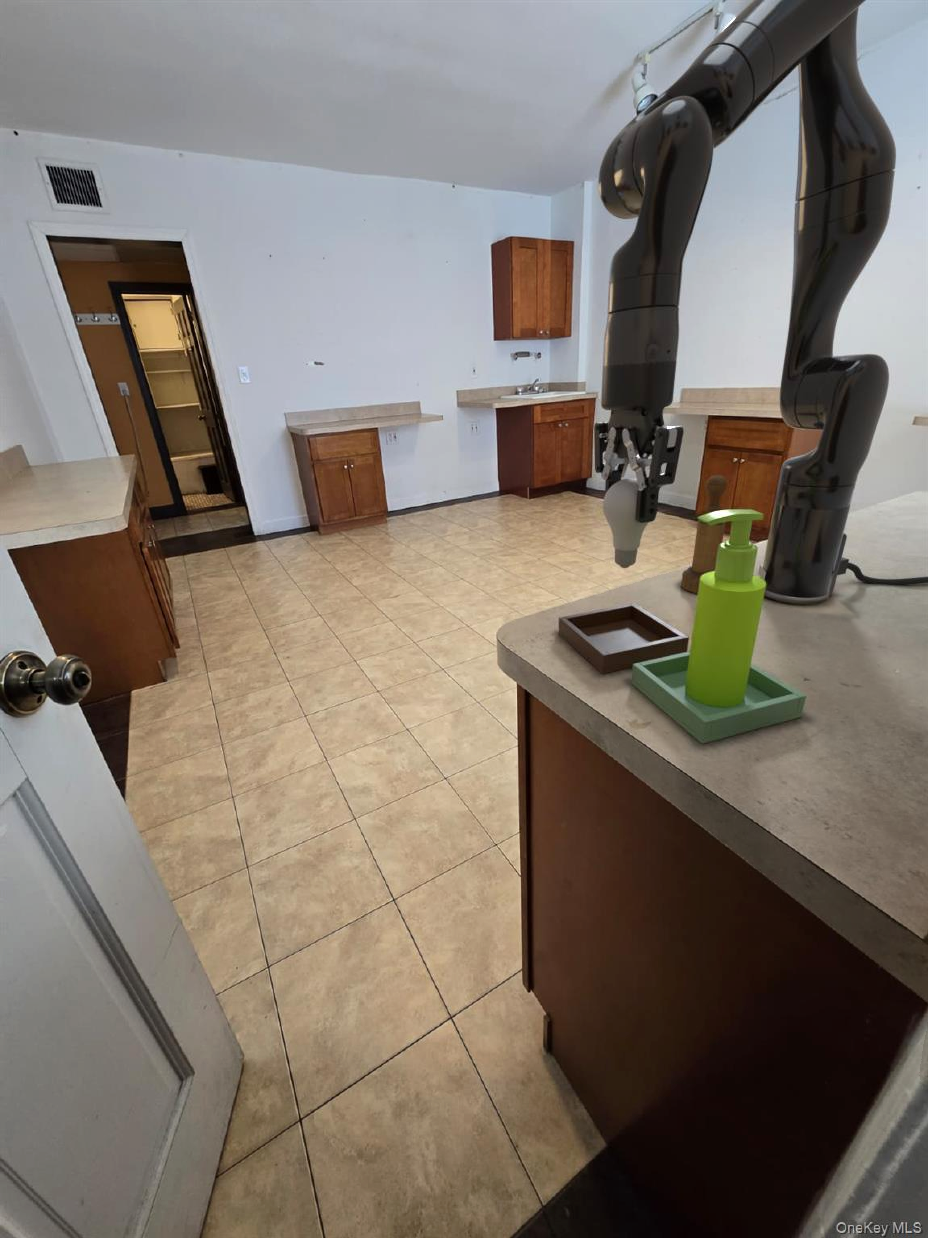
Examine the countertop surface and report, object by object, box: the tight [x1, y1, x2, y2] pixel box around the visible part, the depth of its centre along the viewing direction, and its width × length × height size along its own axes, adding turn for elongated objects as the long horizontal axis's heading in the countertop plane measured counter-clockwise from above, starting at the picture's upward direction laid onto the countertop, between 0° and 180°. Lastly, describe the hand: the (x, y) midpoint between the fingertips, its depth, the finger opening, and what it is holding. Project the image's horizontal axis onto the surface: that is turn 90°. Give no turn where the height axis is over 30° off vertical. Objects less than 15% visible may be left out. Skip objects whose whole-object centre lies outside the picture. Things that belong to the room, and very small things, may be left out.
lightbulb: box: [602, 477, 650, 569], centre depth 62 cm, size 6×6×11 cm
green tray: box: [631, 650, 807, 744], centre depth 56 cm, size 12×12×3 cm
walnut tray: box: [558, 602, 690, 675], centre depth 68 cm, size 12×12×3 cm
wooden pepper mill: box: [680, 475, 728, 594], centre depth 81 cm, size 7×6×18 cm
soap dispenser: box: [685, 508, 766, 707], centre depth 52 cm, size 6×7×20 cm
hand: (628, 515), depth 62 cm, fingers closed on lightbulb, 6 cm apart
